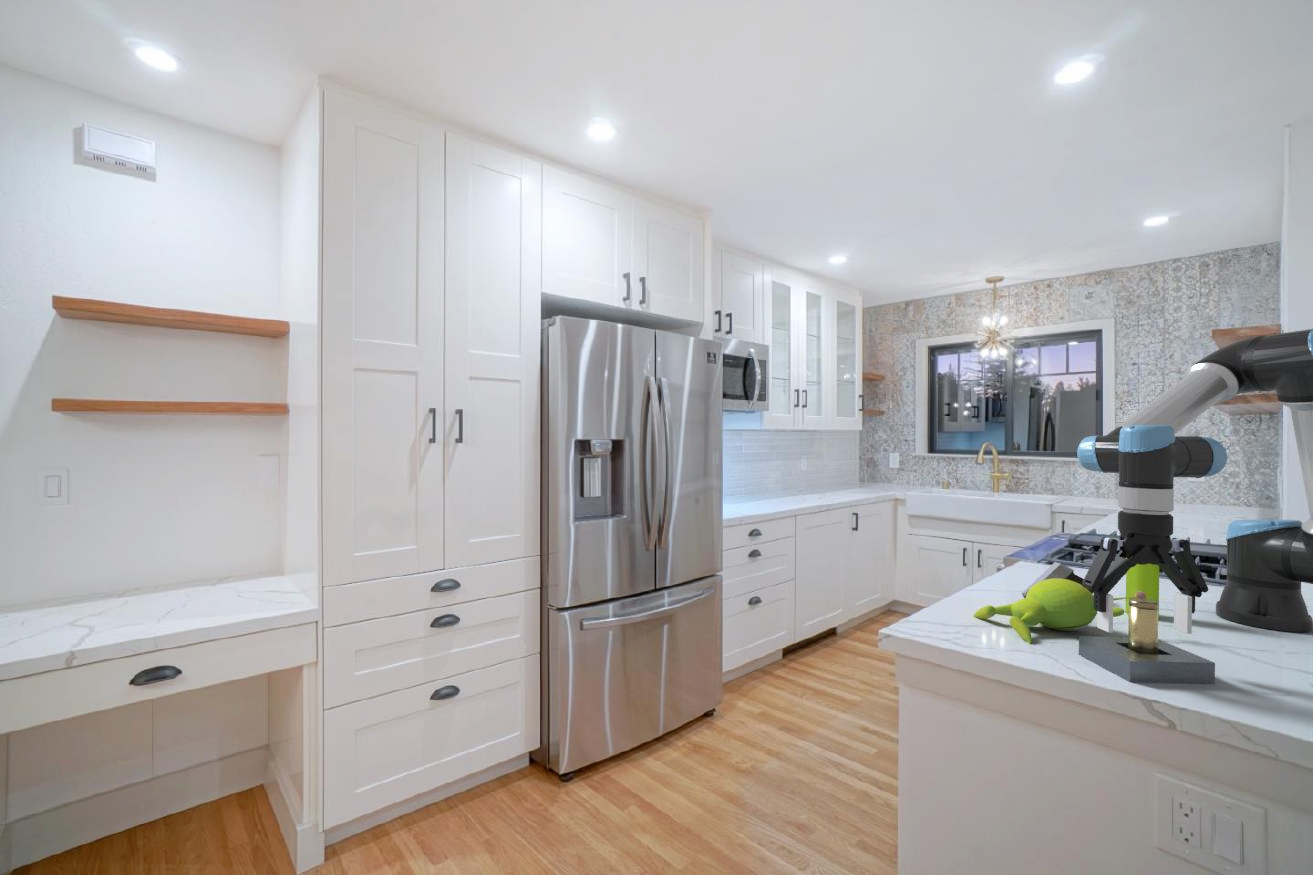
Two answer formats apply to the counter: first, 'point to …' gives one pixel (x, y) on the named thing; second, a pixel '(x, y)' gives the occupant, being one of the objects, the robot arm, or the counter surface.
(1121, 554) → the robot arm
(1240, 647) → the counter surface
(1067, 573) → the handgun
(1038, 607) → the toy
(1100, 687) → the counter surface
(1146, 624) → the gold metallic cylinder
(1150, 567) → the soap dispenser
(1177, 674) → the jig
